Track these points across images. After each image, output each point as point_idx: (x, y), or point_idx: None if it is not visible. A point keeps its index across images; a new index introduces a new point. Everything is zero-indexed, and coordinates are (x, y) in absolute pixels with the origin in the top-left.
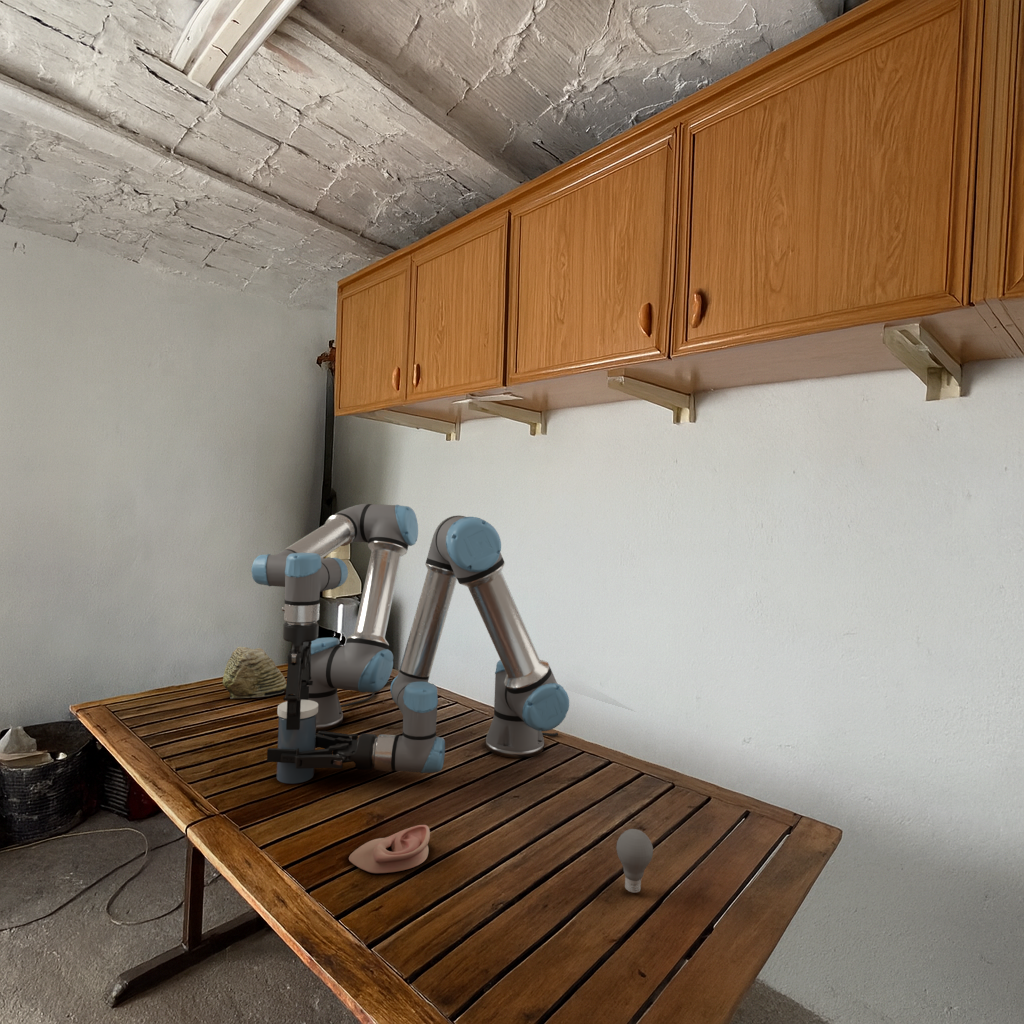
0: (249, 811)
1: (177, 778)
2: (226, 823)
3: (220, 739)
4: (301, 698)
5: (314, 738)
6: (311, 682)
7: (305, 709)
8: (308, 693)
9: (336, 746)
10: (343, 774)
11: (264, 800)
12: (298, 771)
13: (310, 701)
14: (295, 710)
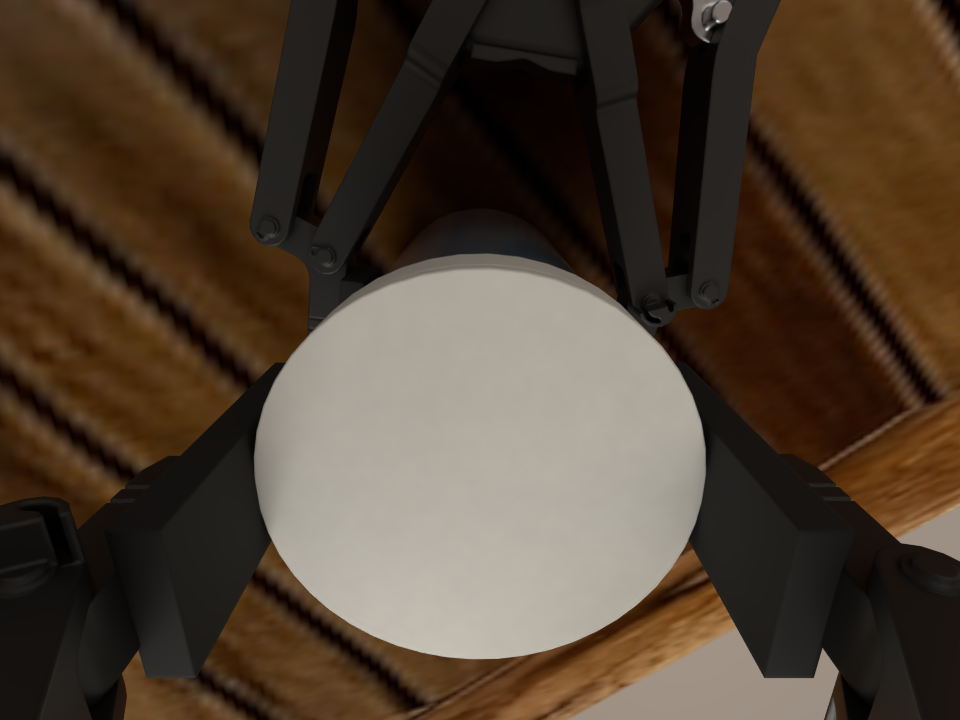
0: (797, 405)
1: (489, 684)
2: (872, 457)
3: None
4: (251, 505)
5: (508, 235)
6: (5, 540)
7: (623, 393)
8: (191, 468)
9: (610, 36)
10: None
11: (712, 373)
12: None
13: (316, 390)
14: (840, 493)
